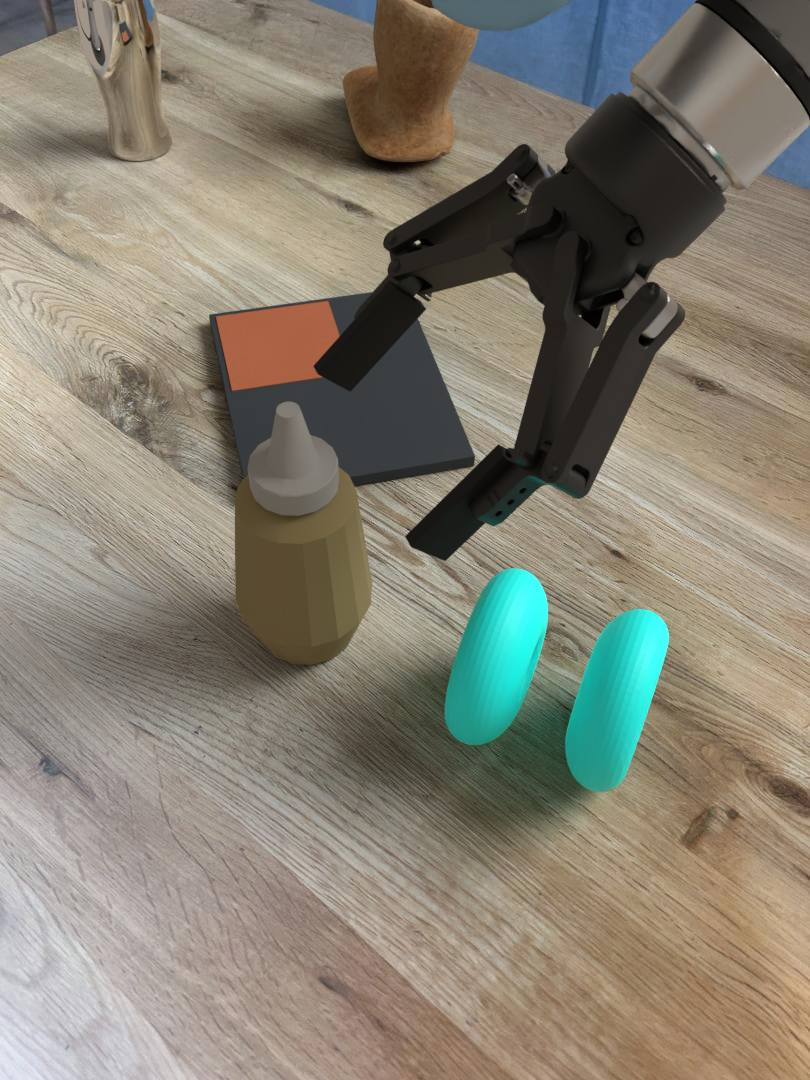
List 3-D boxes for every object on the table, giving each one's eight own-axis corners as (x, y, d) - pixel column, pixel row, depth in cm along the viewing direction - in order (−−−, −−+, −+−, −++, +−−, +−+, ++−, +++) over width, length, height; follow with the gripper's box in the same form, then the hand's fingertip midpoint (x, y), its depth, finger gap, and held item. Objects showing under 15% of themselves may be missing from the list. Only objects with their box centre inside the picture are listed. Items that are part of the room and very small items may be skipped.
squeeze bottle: (298, 556, 68) (277, 335, 55) (399, 615, 65) (404, 397, 52) (213, 639, 64) (168, 421, 50) (318, 706, 61) (300, 494, 47)
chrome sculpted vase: (170, 122, 104) (144, -39, 93) (183, 157, 100) (157, -7, 89) (99, 133, 103) (63, -30, 92) (109, 169, 99) (73, 3, 87)
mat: (210, 324, 84) (208, 313, 83) (404, 297, 87) (405, 286, 86) (248, 504, 71) (246, 493, 70) (474, 466, 74) (475, 455, 73)
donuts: (492, 632, 65) (507, 524, 57) (651, 686, 62) (689, 582, 55) (432, 766, 59) (440, 666, 51) (606, 832, 56) (641, 737, 49)
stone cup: (482, 168, 100) (495, 4, 88) (357, 175, 99) (354, 10, 87) (455, 91, 110) (464, -65, 98) (341, 97, 108) (337, -61, 97)
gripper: (879, 335, 44) (519, 651, 51) (588, 70, 59) (342, 345, 66) (814, 251, 38) (422, 619, 46) (512, -17, 53) (253, 294, 61)
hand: (374, 458), depth 56 cm, fingers open, 13 cm apart
